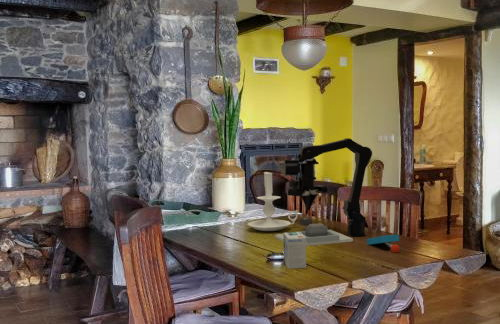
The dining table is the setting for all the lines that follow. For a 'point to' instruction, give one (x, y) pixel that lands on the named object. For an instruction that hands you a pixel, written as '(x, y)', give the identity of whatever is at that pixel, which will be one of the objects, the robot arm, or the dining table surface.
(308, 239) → the chassis
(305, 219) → the wheel
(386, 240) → the lever
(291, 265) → the light bulb box
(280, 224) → the candlestick
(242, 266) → the dining table surface
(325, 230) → the block
